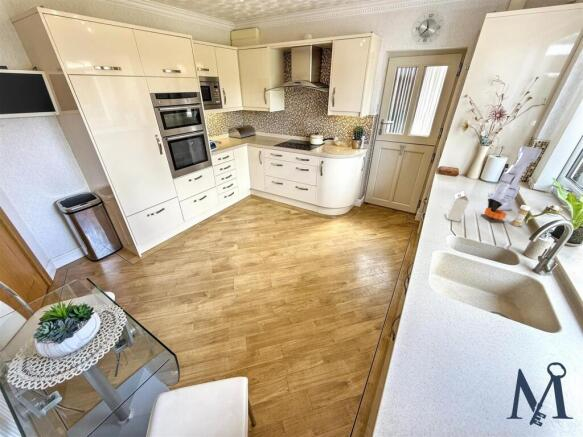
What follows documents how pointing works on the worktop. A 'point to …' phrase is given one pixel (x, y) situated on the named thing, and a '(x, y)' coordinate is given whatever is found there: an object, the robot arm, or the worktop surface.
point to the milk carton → (457, 206)
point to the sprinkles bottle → (520, 215)
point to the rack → (492, 219)
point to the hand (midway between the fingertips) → (490, 210)
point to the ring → (495, 213)
